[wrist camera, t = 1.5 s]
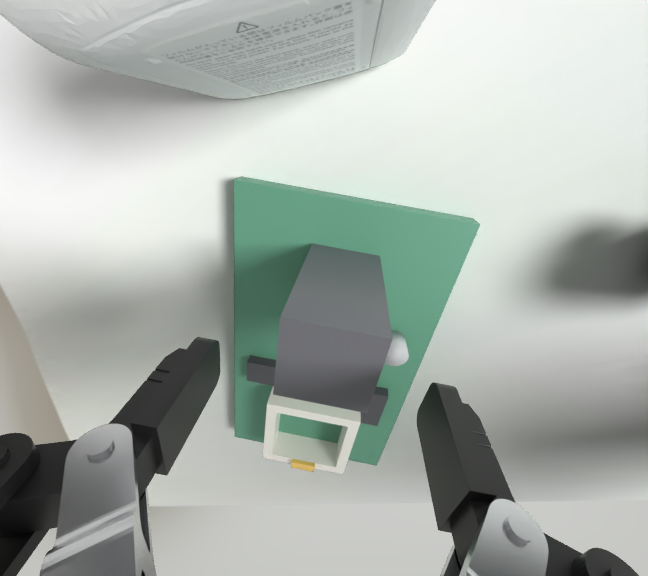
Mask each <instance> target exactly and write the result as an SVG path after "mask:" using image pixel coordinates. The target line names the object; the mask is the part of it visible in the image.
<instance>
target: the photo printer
mask: <svg viewBox="0 0 648 576" xmlns="http://www.w3.org/2000/svg"><path fill="white" fill-rule="evenodd" d="M435 1H436V0H0V14H1V15H2V16H3V17H4V18H5V19H7V20H8V21H9V22H10V23H11V24H13V25H14V26H15V27H16V28H17V29H19V30H20V31H21V32H23V33H24V34H25V35H27V36H28V37H30V38H31V39H32V40H34V41H35V42H37V43H38V44H40V45H42V46H43V47H45V48H46V49H48V50H49V51H51V52H53V53H54V54H56V55H58V56H60V57H62V58H64V59H67V60H70V61H72V62H75V63H78V64H82V65H85V66H89V67H93V68H97V69H102V70H106V71H110V72H114V73H118V74H123V75H127V76H131V77H136V78H140V79H144V80H148V81H152V82H156V83H160V84H164V85H168V86H172V87H177V88H181V89H185V90H189V91H193V92H197V93H201V94H205V95H209V96H212V97H217V98H223V99H243V98H250V97H255V96H260V95H265V94H272V93H275V92H280V91H284V90H288V89H293V88H297V87H301V86H305V85H309V84H313V83H317V82H321V81H325V80H329V79H334V78H338V77H341V76H345V75H349V74H352V73H356V72H359V71H362V70H366V69H369V68H373V67H376V66H379V65H381V64H384V63H386V62H388V61H391V60H393V59H395V58H397V57H399V56H400V55H402V54H404V53H405V51H406V50H407V48H408V46H409V45H410V43H411V41H412V39H413V38H414V36H415V34H416V33H417V31H418V29H419V28H420V26H421V24H422V22H423V21H424V19H425V17H426V16H427V14H428V13H429V11H430V9H431V8H432V6H433V4H434V3H435Z"/></svg>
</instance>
